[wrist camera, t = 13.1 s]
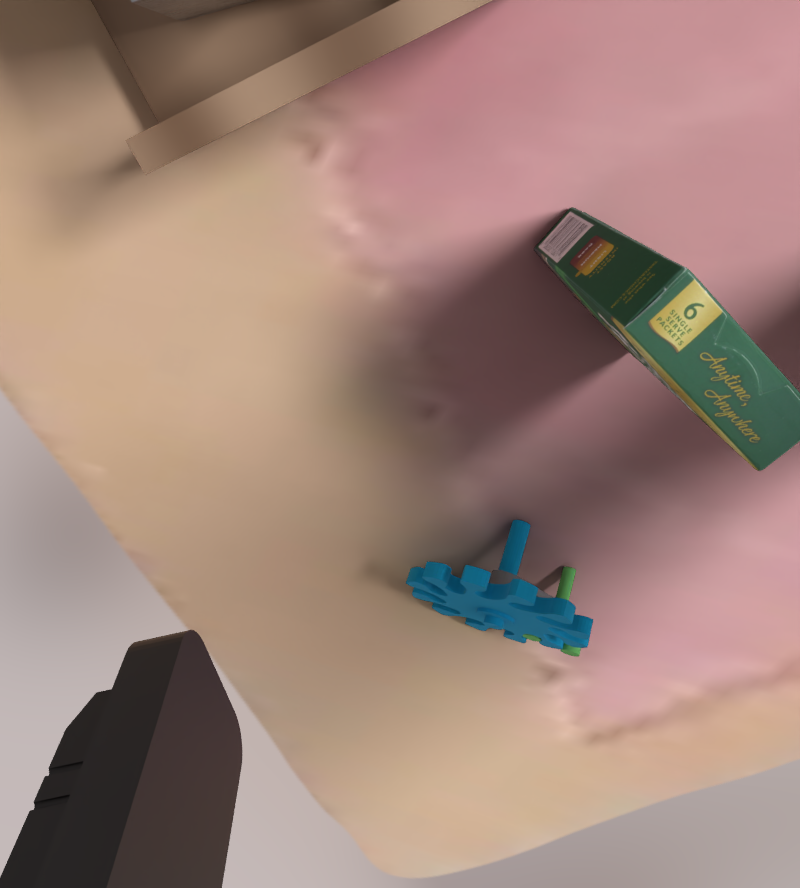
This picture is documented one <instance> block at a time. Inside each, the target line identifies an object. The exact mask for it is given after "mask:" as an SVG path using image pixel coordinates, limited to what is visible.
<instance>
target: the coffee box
mask: <svg viewBox="0 0 800 888" xmlns="http://www.w3.org/2000/svg"><path fill="white" fill-rule="evenodd" d="M534 251H535V252H536V253H537V254H538V255H539V256H540V258H541V259H542V260H543V261H544V262H545V263H546V264H547V266H548V267H549V268H550V269H551V270H552V271H553V272H554V273H555V274H556V276H557V277H558V278H559V279H560V280H561V281H562V282H563V283H564V285H565V286H566V287H567V288H568V289H569V290H570V291H571V292H572V293H573V294H574V296H575V298H576V299H577V300H579V301H580V302H581V303H582V304H583V305H584V306H585V307H586V308H587V309H588V311H589V312H590V313H591V314H592V315H593V316H594V317H595V318H597V320H598V321H599V322H600V323H601V324H602V325H603V326H604V327H605V328H606V329H607V330H608V331H609V332H610V333H611V334H612V335H613V336H614V337H615V338H616V339H617V340H618V341H619V342H620V343H621V344H622V345H623V346H624V347H625V348H626V349H627V350H628V351H629V352H630V353H631V354H632V355H633V356H634V357H635V358H636V359H638V360H639V361H640V362H641V363H642V364H643V365H644V366H645V367H646V368H647V369H648V370H649V371H650V372H651V373H653V375H654V376H656V377H657V378H658V379H659V380H660V381H661V382H662V383H663V384H664V385H665V386H666V387H667V388H668V389H669V390H670V391H671V392H672V393H673V394H674V395H675V396H676V397H677V398H679V399H680V400H681V401H682V402H683V403H684V404H685V405H686V406H687V407H688V408H689V409H690V410H691V411H692V412H694V413H695V414H696V415H697V416H698V417H699V418H700V419H701V420H702V421H703V422H704V423H706V424H707V425H708V426H709V427H710V428H711V429H712V430H713V431H714V432H715V433H716V434H718V435H719V436H720V437H721V438H722V439H723V440H724V441H725V442H726V443H727V444H728V445H729V446H730V447H731V448H732V449H734V450H735V451H736V452H737V453H738V454H739V455H740V456H741V457H743V458H744V459H745V460H746V461H747V462H748V463H749V464H750V465H751V466H752V467H753V468H755V469H756V470H758V471H761V470H763V469H765V468H766V467H767V466H769V465H770V464H771V463H772V462H774V461H775V460H776V459H777V458H779V457H780V456H781V455H783V454H784V453H785V452H787V451H788V450H789V449H790V448H792V447H793V446H794V445H795V444H796V443H798V442H799V441H800V392H799V391H798V390H797V389H796V388H795V387H794V386H793V385H792V384H791V382H790V381H789V380H788V379H787V378H786V377H785V376H784V375H783V374H782V372H781V371H780V370H779V369H778V368H777V367H776V366H775V365H774V364H773V363H772V361H771V360H770V359H769V358H768V357H767V356H766V355H765V353H764V352H763V351H762V350H761V349H760V348H759V347H758V346H757V345H756V344H755V343H754V342H753V340H752V339H751V338H750V337H749V336H748V335H747V334H746V332H745V331H744V330H743V329H742V328H741V327H740V326H739V325H738V324H737V322H736V321H735V320H734V319H733V318H732V317H731V316H730V314H729V313H728V312H727V311H726V310H725V309H724V308H723V307H722V306H721V304H720V303H719V302H718V301H717V300H716V299H715V298H714V297H713V296H712V294H711V293H710V292H709V291H708V290H707V289H706V288H705V287H704V285H703V284H702V283H701V282H700V281H699V280H698V279H697V278H696V277H695V276H694V274H693V273H692V272H691V271H690V270H689V269H687V268H686V267H684V266H682V265H680V264H678V263H676V262H674V261H672V260H670V259H668V258H666V257H664V256H663V255H661V254H659V253H657V252H656V251H654V250H652V249H650V248H648V247H647V246H645V245H643V244H641V243H639V242H637V241H636V240H634V239H632V238H630V237H628V236H627V235H625V234H623V233H621V232H620V231H618V230H616V229H614V228H612V227H611V226H609V225H607V224H605V223H603V222H602V221H600V220H598V219H596V218H594V217H592V216H590V215H588V214H587V213H585V212H582V211H580V210H577V209H576V208H570V209H569V210H568V211H567V212H566V213H565V214H564V215H563V217H562V218H561V219H560V220H559V221H558V222H557V223H556V224H555V226H554V227H553V228H552V229H551V230H550V231H549V232H548V233H547V235H546V236H545V237H544V238H543V239H542V240H541V241H540V242H539V243H538V244H537V245H536V246H535V248H534Z"/></svg>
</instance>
